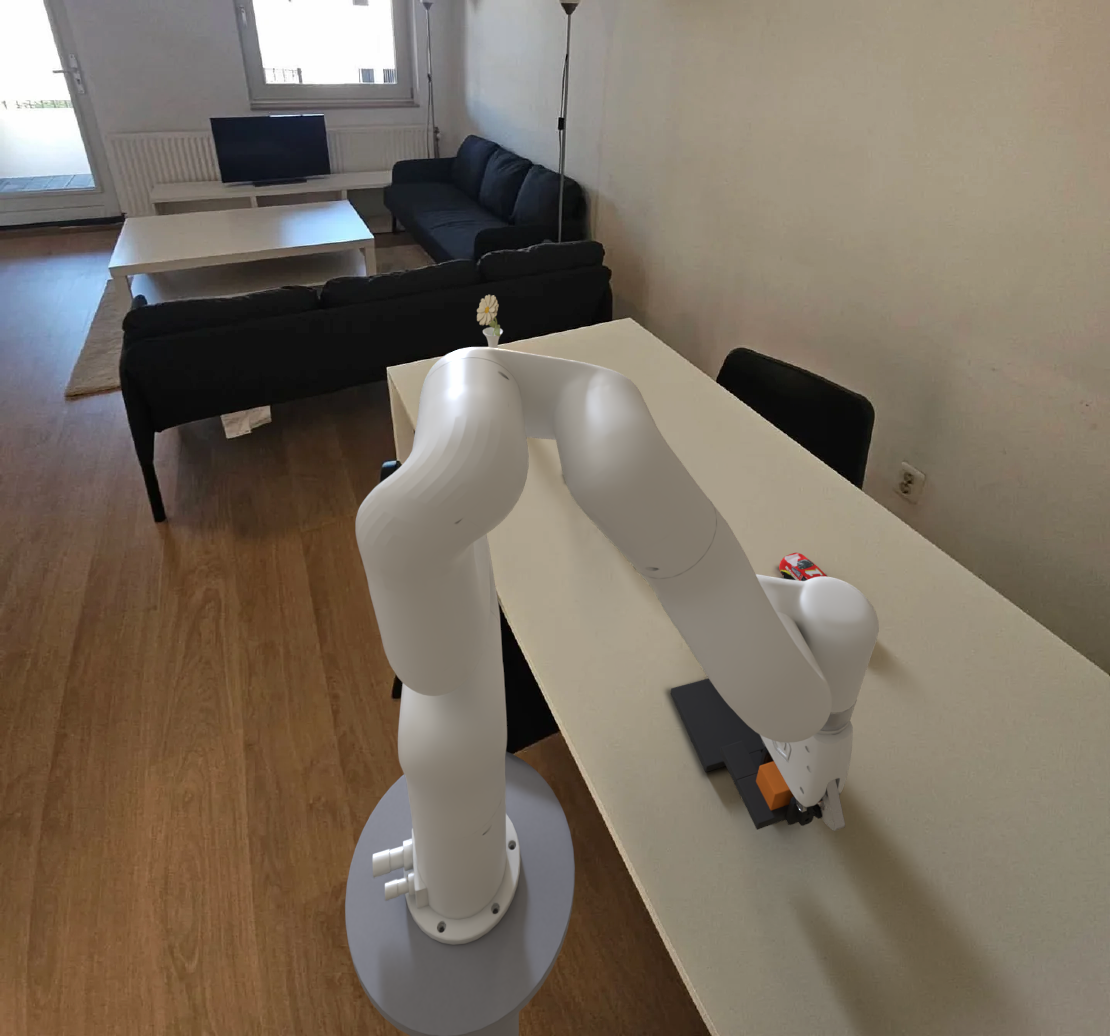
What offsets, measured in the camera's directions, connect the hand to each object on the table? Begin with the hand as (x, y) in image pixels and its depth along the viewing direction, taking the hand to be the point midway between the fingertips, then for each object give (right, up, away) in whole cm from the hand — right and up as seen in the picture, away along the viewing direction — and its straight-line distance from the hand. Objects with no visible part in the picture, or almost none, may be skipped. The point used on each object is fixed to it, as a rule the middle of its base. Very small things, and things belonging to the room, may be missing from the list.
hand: (784, 791), depth 69 cm
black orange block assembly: (0, 0, +2) cm, 2 cm away
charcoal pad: (-3, 0, +10) cm, 10 cm away
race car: (+16, +8, +30) cm, 35 cm away
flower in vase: (-42, +35, +89) cm, 104 cm away
